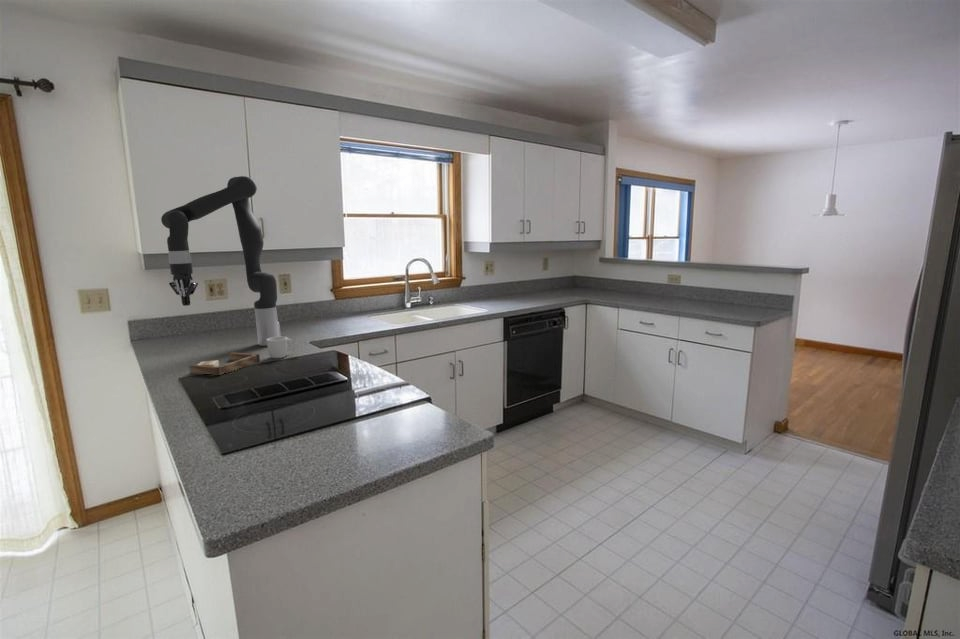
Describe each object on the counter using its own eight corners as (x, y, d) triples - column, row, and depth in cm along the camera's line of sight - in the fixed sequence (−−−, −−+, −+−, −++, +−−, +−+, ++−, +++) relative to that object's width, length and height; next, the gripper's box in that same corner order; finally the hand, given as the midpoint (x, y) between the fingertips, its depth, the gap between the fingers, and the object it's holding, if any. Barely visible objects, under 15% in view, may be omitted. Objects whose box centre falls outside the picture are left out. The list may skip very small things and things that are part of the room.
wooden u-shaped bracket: (232, 359, 200) (231, 352, 199) (260, 361, 195) (259, 354, 195) (190, 373, 181) (189, 365, 181) (219, 376, 177) (218, 368, 176)
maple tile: (219, 367, 189) (218, 360, 189) (214, 372, 183) (213, 364, 183) (202, 369, 188) (201, 361, 187) (197, 373, 182) (196, 365, 182)
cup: (286, 352, 209) (284, 334, 208) (298, 354, 205) (296, 336, 204) (264, 358, 200) (262, 339, 199) (276, 360, 196) (274, 341, 195)
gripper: (201, 261, 194) (207, 304, 197) (176, 261, 198) (182, 303, 201) (184, 263, 187) (191, 307, 190) (159, 263, 191) (165, 306, 194)
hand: (186, 305), depth 195 cm, fingers closed
